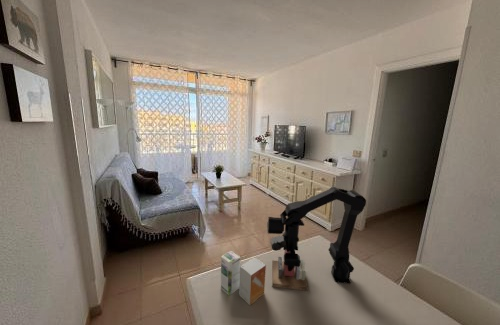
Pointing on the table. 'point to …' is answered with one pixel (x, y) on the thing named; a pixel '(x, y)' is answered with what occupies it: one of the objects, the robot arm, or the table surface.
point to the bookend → (280, 267)
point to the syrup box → (230, 272)
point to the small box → (252, 280)
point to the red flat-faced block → (286, 272)
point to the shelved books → (300, 271)
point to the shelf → (286, 279)
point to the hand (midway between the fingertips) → (289, 265)
